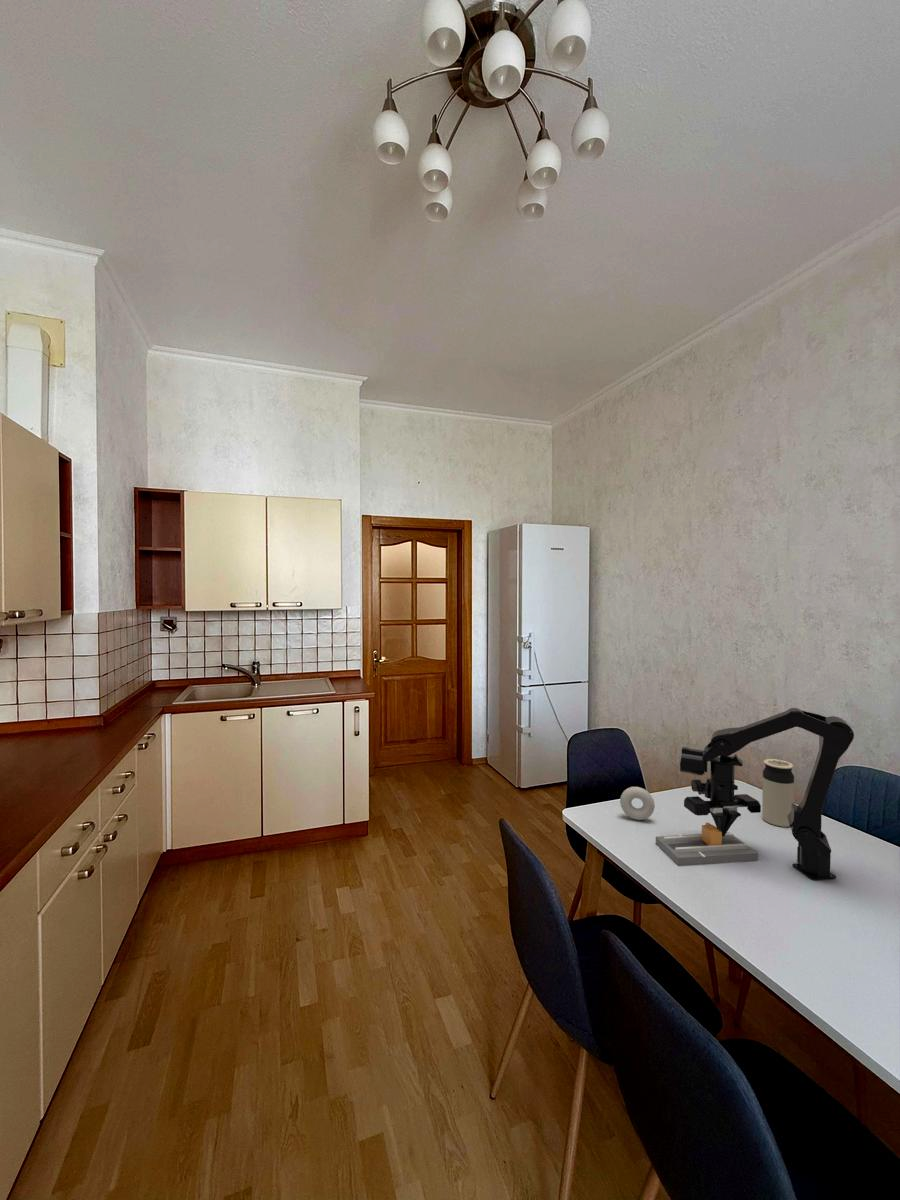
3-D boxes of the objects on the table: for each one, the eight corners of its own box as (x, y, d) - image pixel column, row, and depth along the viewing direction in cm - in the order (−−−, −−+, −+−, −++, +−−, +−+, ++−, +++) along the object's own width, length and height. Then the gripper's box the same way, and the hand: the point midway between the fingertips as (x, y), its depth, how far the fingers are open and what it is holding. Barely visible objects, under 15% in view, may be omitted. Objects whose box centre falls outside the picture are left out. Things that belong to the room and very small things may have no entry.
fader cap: (721, 846, 131) (721, 829, 131) (711, 847, 131) (711, 830, 130) (712, 839, 135) (712, 822, 135) (701, 839, 134) (702, 822, 134)
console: (758, 861, 128) (758, 849, 128) (678, 866, 126) (679, 854, 125) (728, 838, 139) (728, 828, 139) (655, 843, 137) (655, 832, 137)
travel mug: (798, 828, 145) (799, 768, 145) (768, 826, 147) (769, 766, 147) (786, 816, 153) (786, 759, 153) (757, 814, 155) (758, 757, 154)
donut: (654, 819, 151) (654, 787, 151) (654, 824, 148) (655, 791, 148) (620, 814, 155) (620, 782, 155) (619, 819, 152) (619, 786, 151)
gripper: (734, 766, 142) (733, 820, 142) (672, 769, 140) (672, 823, 140) (762, 781, 131) (762, 839, 131) (696, 784, 129) (695, 843, 129)
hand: (721, 835), depth 133 cm, fingers closed
